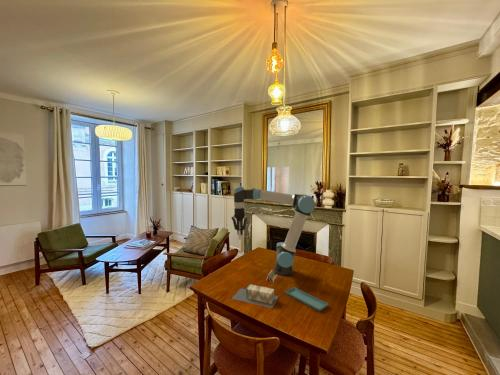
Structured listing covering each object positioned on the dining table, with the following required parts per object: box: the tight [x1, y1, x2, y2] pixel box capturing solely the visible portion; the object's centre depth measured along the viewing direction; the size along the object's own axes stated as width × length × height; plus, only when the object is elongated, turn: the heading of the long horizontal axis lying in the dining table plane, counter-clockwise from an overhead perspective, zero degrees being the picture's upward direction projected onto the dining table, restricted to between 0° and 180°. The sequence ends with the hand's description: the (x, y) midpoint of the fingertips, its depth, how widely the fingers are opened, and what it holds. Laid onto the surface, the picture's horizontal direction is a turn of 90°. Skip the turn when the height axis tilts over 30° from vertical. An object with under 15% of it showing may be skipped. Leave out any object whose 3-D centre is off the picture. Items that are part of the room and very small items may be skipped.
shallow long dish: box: [285, 286, 329, 312], centre depth 137 cm, size 26×9×2 cm, turn 39°
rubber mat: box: [231, 288, 279, 310], centre depth 138 cm, size 26×14×1 cm, turn 68°
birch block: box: [245, 284, 275, 304], centre depth 137 cm, size 6×6×16 cm
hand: (240, 239), depth 166 cm, fingers closed
